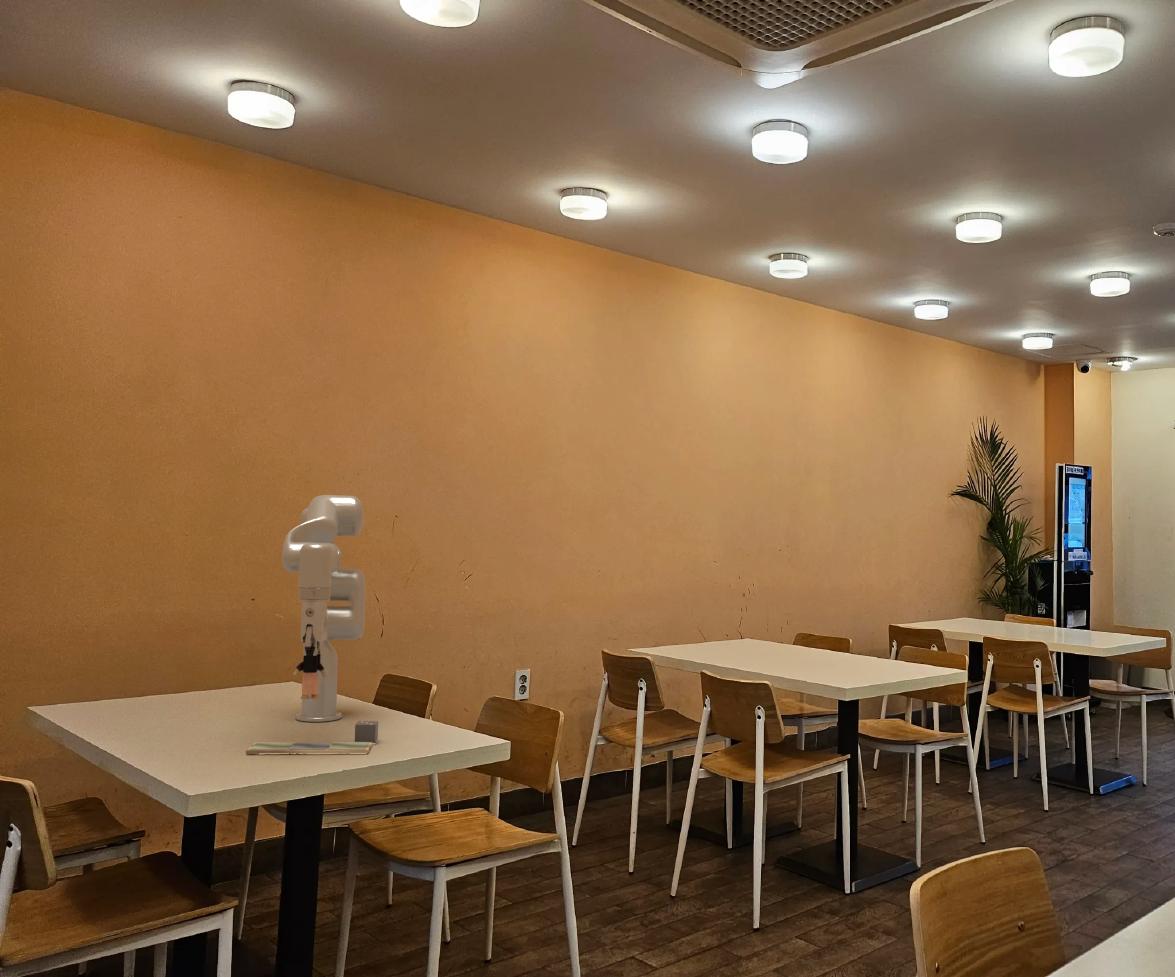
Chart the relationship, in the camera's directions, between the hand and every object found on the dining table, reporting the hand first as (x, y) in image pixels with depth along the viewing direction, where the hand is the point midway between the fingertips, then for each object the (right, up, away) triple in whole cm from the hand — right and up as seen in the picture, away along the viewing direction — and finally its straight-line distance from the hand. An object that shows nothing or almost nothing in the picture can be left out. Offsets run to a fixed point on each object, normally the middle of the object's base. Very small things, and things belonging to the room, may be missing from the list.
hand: (311, 670), depth 230 cm
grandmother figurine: (-1, -7, -1) cm, 7 cm away
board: (0, -19, -1) cm, 19 cm away
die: (+11, -20, +9) cm, 25 cm away
